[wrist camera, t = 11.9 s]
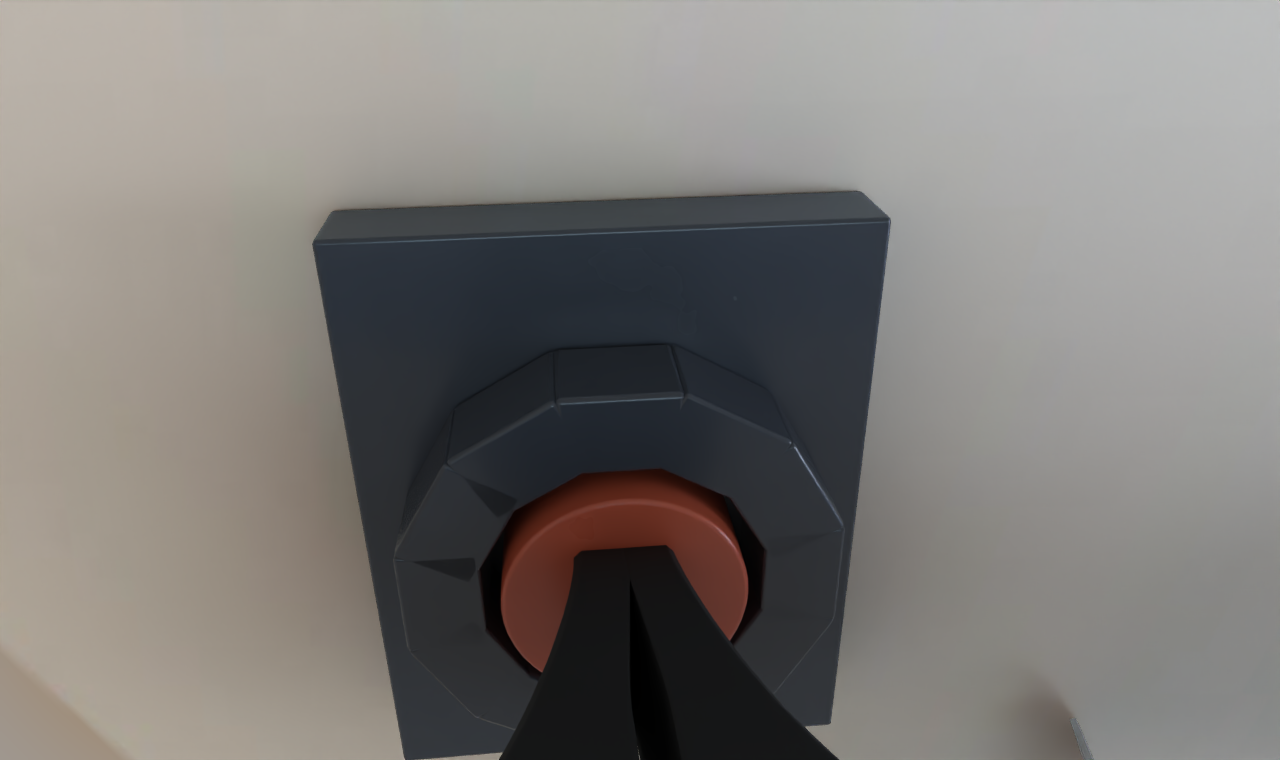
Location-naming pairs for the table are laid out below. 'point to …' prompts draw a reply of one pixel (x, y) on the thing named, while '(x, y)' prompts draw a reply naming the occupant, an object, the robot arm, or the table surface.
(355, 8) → the table surface
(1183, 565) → the table surface
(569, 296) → the block
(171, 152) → the table surface
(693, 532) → the bell button
